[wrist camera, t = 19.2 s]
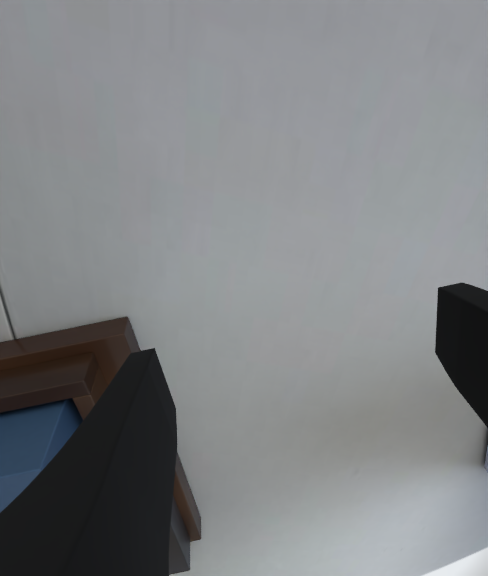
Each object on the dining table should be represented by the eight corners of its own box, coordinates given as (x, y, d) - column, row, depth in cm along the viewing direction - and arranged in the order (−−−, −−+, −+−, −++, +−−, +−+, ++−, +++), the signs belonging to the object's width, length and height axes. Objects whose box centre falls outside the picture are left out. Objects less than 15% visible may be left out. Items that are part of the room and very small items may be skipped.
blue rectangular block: (113, 464, 23) (95, 559, 19) (39, 479, 23) (4, 579, 19) (72, 379, 20) (40, 469, 16) (-12, 396, 20) (-68, 491, 16)
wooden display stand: (201, 517, 28) (202, 573, 25) (50, 548, 28) (33, 609, 25) (128, 315, 21) (117, 361, 18) (-79, 358, 21) (-126, 411, 18)
